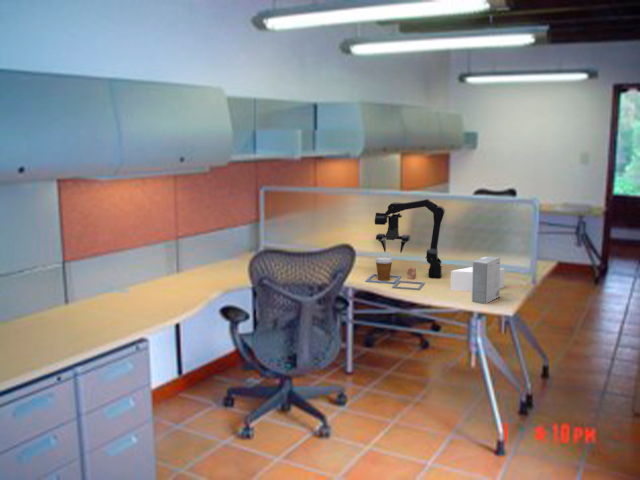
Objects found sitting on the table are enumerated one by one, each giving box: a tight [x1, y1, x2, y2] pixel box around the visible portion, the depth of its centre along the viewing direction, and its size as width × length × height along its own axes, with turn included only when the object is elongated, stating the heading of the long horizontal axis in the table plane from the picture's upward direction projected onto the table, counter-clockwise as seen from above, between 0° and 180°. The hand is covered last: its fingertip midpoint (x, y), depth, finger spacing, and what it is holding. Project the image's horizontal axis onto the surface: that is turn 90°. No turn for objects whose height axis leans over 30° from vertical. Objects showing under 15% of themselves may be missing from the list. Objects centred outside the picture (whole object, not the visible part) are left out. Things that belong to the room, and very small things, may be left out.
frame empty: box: [391, 280, 426, 291], centre depth 336 cm, size 14×14×1 cm
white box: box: [450, 266, 506, 292], centre depth 328 cm, size 14×29×10 cm, turn 98°
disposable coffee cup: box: [374, 256, 393, 282], centre depth 349 cm, size 10×10×12 cm
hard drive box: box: [471, 255, 501, 305], centre depth 306 cm, size 16×8×20 cm, turn 141°
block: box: [406, 266, 417, 281], centre depth 352 cm, size 4×4×6 cm
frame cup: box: [364, 273, 403, 285], centre depth 350 cm, size 16×16×1 cm
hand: (392, 252), depth 360 cm, fingers open, 9 cm apart
